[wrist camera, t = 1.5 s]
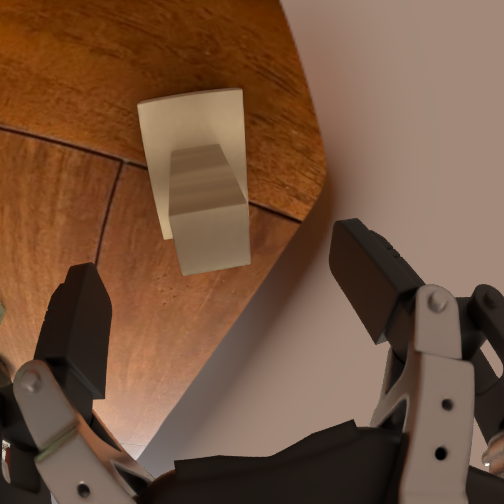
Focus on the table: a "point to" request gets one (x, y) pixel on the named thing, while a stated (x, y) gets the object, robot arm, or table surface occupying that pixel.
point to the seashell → (4, 376)
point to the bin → (1, 312)
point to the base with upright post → (199, 176)
